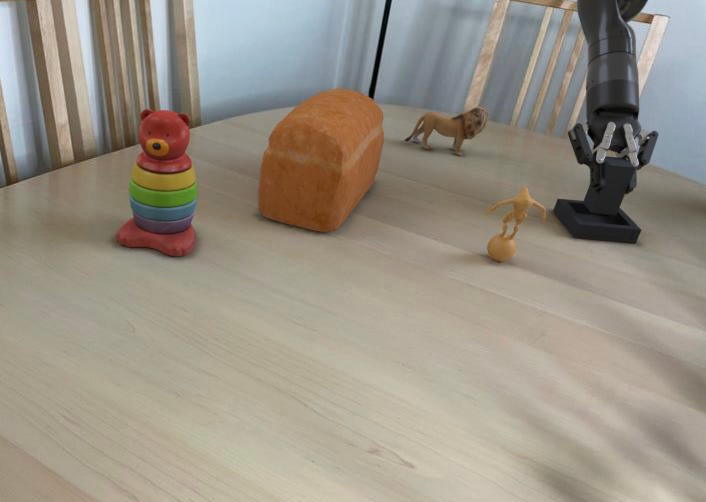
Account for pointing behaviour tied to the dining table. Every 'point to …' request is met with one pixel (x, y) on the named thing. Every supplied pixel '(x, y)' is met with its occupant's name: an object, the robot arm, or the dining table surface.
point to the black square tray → (595, 223)
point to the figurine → (504, 244)
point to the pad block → (610, 187)
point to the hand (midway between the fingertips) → (613, 190)
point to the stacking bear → (162, 187)
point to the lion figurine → (451, 126)
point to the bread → (321, 160)
